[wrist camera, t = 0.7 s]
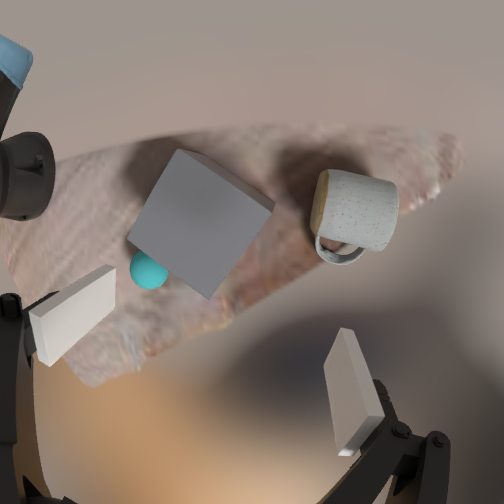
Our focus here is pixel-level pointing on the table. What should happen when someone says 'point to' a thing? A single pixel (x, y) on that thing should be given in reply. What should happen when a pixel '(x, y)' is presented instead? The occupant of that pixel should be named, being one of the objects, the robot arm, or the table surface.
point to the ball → (147, 271)
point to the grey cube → (199, 220)
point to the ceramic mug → (353, 213)
